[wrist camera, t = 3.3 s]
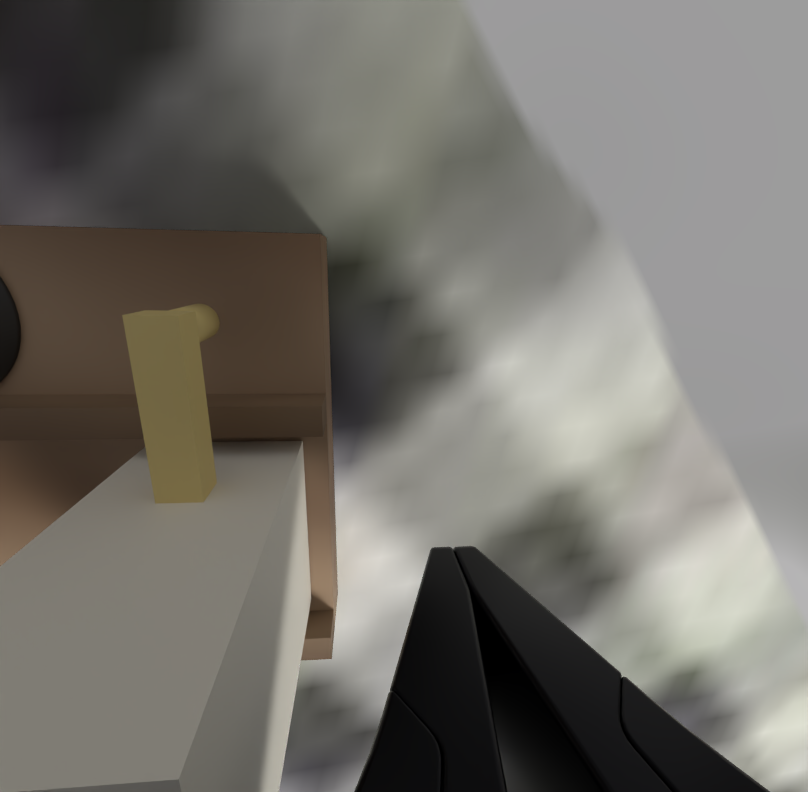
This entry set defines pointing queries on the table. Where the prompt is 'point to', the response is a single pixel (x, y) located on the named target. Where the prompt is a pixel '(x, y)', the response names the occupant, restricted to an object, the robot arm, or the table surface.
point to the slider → (161, 602)
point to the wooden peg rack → (113, 380)
